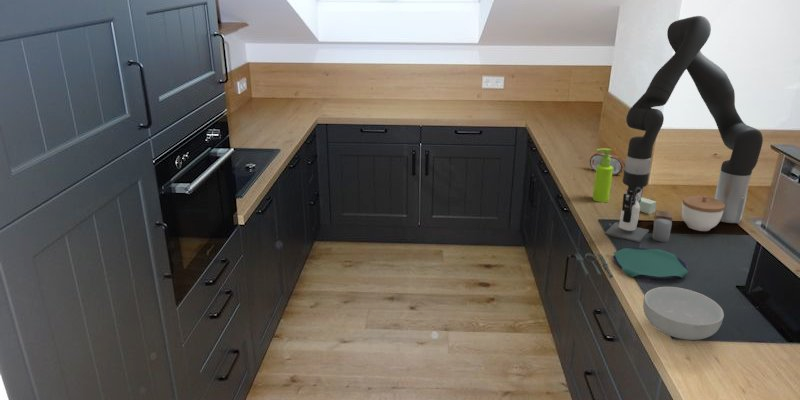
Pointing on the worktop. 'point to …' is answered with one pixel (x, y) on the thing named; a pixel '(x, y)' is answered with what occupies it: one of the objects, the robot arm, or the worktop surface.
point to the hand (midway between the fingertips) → (629, 218)
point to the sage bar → (647, 205)
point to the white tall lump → (634, 218)
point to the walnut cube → (663, 215)
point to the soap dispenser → (603, 177)
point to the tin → (615, 162)
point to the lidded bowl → (702, 212)
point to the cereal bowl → (682, 312)
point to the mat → (627, 233)
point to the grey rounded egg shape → (662, 230)
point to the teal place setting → (643, 263)
